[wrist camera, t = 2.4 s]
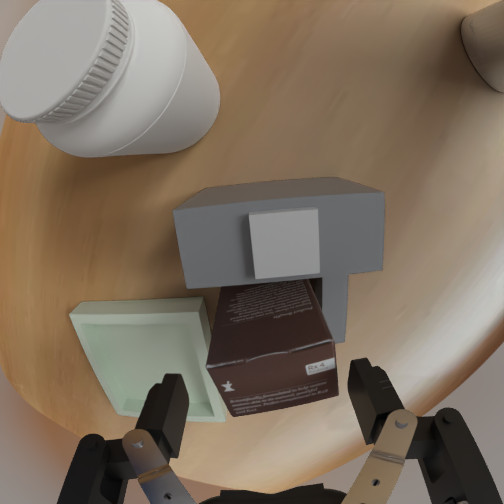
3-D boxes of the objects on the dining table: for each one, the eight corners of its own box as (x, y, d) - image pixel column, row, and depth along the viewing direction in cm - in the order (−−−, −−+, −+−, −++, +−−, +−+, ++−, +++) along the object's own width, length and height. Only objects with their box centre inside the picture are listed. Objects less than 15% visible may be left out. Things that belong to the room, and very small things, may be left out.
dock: (335, 176, 21) (389, 194, 12) (336, 323, 25) (367, 398, 16) (205, 188, 22) (168, 213, 12) (227, 333, 26) (215, 414, 17)
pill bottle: (122, 71, 18) (-9, 13, 4) (218, 50, 18) (164, -76, 4) (127, 161, 21) (-22, 188, 7) (226, 146, 20) (163, 129, 6)
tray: (203, 296, 24) (198, 311, 22) (227, 404, 29) (225, 421, 26) (81, 301, 25) (69, 314, 23) (124, 400, 30) (117, 414, 27)
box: (239, 311, 25) (229, 420, 14) (224, 264, 24) (198, 361, 12) (308, 294, 24) (342, 399, 13) (297, 246, 23) (334, 333, 12)
